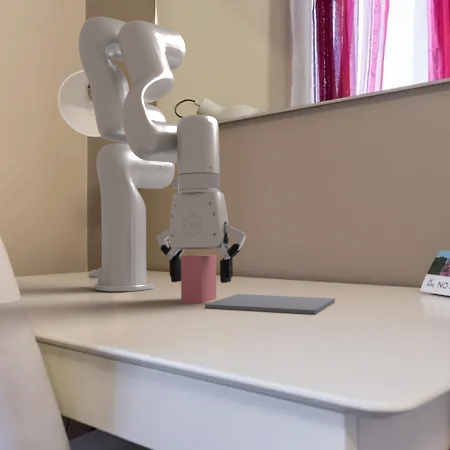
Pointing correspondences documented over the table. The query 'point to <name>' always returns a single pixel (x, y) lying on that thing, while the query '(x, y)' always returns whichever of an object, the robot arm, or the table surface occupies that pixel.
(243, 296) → the mat
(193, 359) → the table surface
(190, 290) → the pink rectangular block
